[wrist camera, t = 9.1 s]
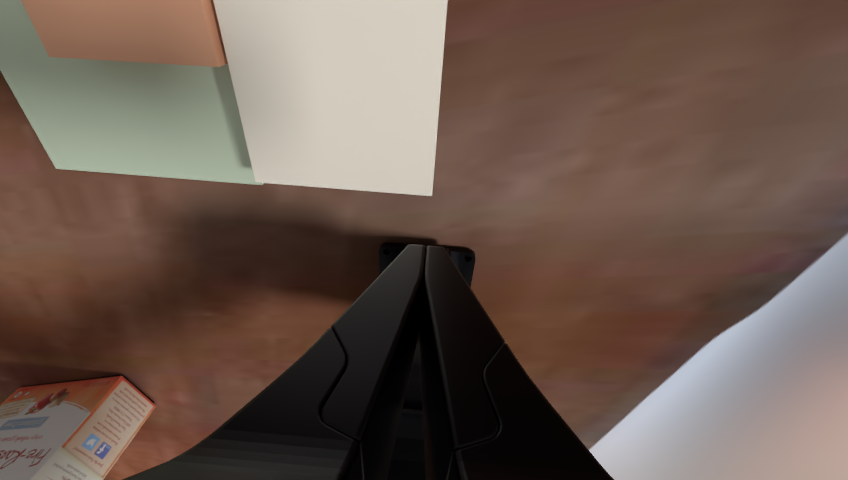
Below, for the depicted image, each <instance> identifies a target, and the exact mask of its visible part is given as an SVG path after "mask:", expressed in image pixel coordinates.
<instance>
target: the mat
mask: <svg viewBox="0 0 848 480" xmlns="http://www.w3.org/2000/svg"><path fill="white" fill-rule="evenodd" d="M0 71H1V73H2V74H3V76H4V78H5V80H6V81H7V83H8V85H9V87H10V88H11V90H12V92H13V94H14V95H15V97H16V99H17V101H18V102H19V104H20V106H21V108H22V110H23V111H24V113H25V115H26V117H27V118H28V120H29V122H30V124H31V125H32V127H33V129H34V131H35V132H36V134H37V136H38V138H39V139H40V141H41V143H42V145H43V147H44V148H45V150H46V152H47V154H48V155H49V157H50V159H51V161H52V162H53V164H54V166H55V168H56V169H67V170H79V171H92V172H105V173H117V174H130V175H143V176H155V177H168V178H180V179H193V180H206V181H218V182H231V183H244V184H256V185H263V184H264V183H260V182H255V178H254V173H253V169H252V165H251V161H250V156H249V152H248V148H247V143H246V139H245V135H244V130H243V126H242V122H241V117H240V113H239V109H238V105H237V100H236V96H235V92H234V87H233V83H232V79H231V74H230V70H229V66H228V64H226V65H223V66H220V67H211V66H194V65H177V64H159V63H142V62H125V61H108V60H91V59H74V58H57V57H49V56H48V54H47V52H46V50H45V47H44V45H43V43H42V41H41V39H40V37H39V35H38V33H37V31H36V29H35V27H34V25H33V23H32V21H31V19H30V17H29V15H28V13H27V11H26V9H25V7H24V5H23V3H22V1H21V0H0Z"/></svg>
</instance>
